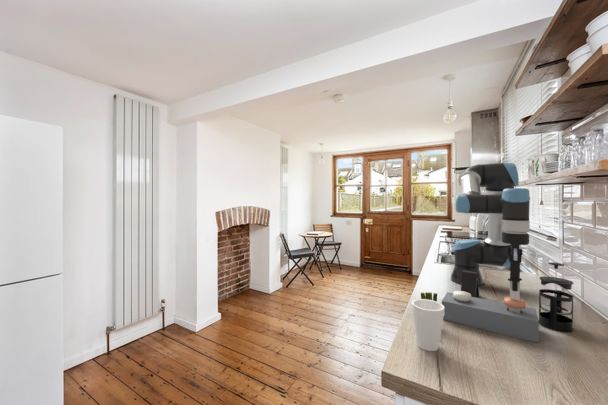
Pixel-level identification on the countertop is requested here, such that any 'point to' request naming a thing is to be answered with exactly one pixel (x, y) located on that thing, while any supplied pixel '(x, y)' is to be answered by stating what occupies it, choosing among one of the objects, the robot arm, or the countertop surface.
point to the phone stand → (470, 283)
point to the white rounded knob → (462, 296)
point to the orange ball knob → (514, 304)
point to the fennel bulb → (429, 296)
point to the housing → (492, 317)
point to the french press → (556, 304)
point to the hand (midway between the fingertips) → (514, 299)
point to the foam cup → (427, 323)
